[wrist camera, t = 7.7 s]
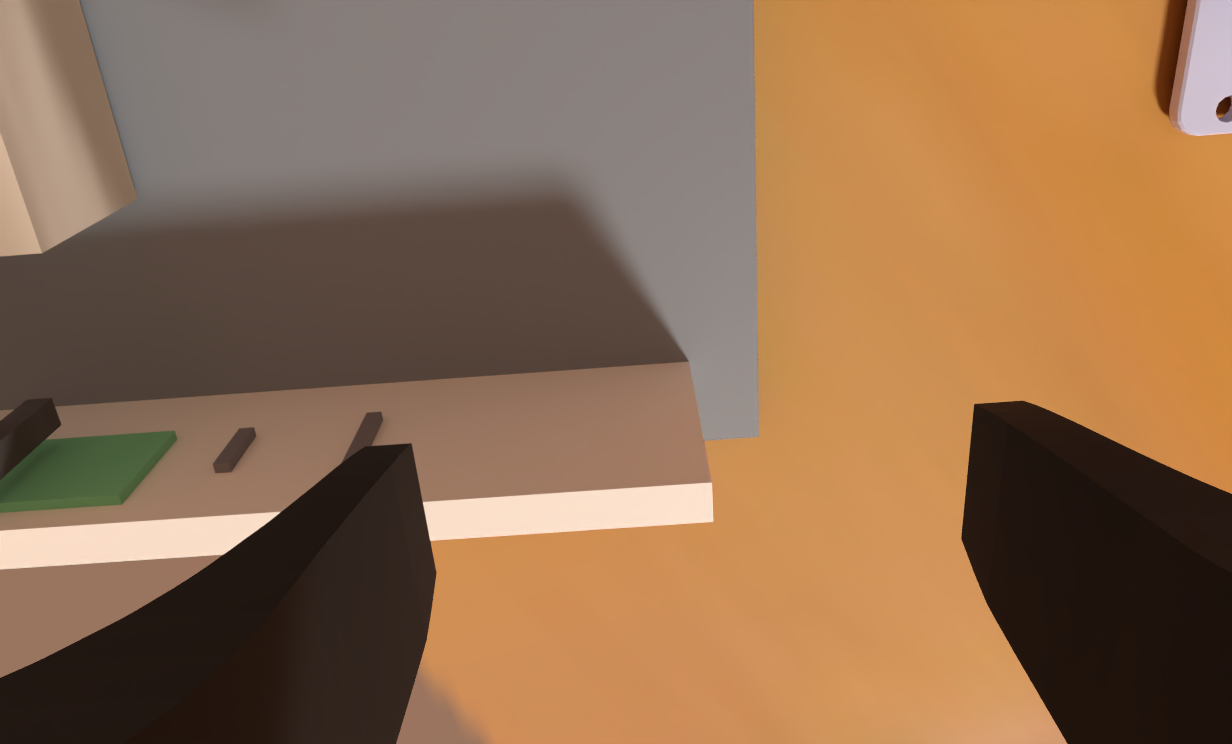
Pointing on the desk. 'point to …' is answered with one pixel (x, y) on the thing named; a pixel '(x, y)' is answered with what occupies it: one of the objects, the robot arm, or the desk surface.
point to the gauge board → (394, 271)
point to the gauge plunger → (51, 159)
